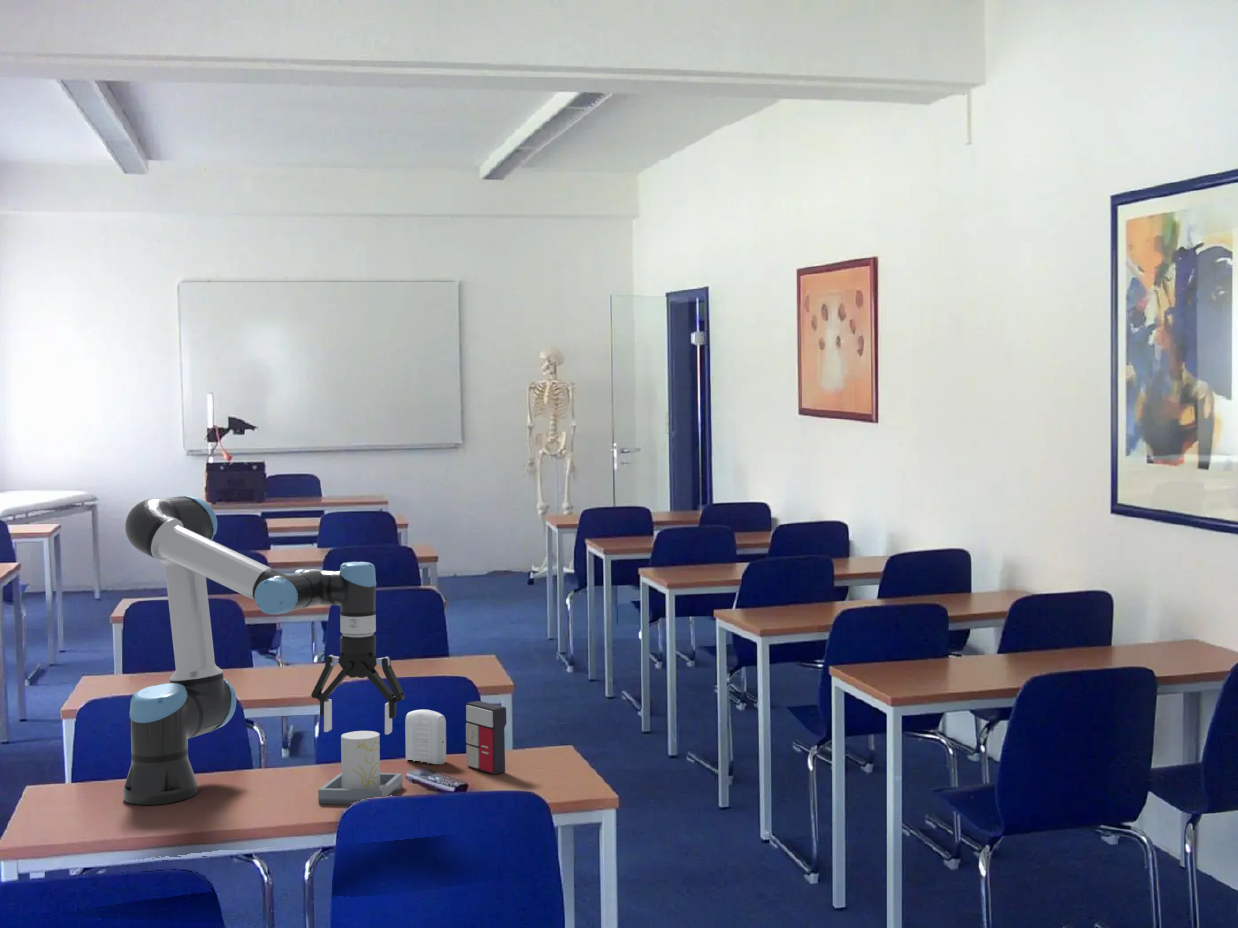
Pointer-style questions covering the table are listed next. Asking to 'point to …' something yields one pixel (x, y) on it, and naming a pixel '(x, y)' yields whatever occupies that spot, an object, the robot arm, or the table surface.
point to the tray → (358, 790)
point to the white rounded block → (425, 736)
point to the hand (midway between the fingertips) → (358, 731)
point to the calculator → (485, 737)
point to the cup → (360, 760)
